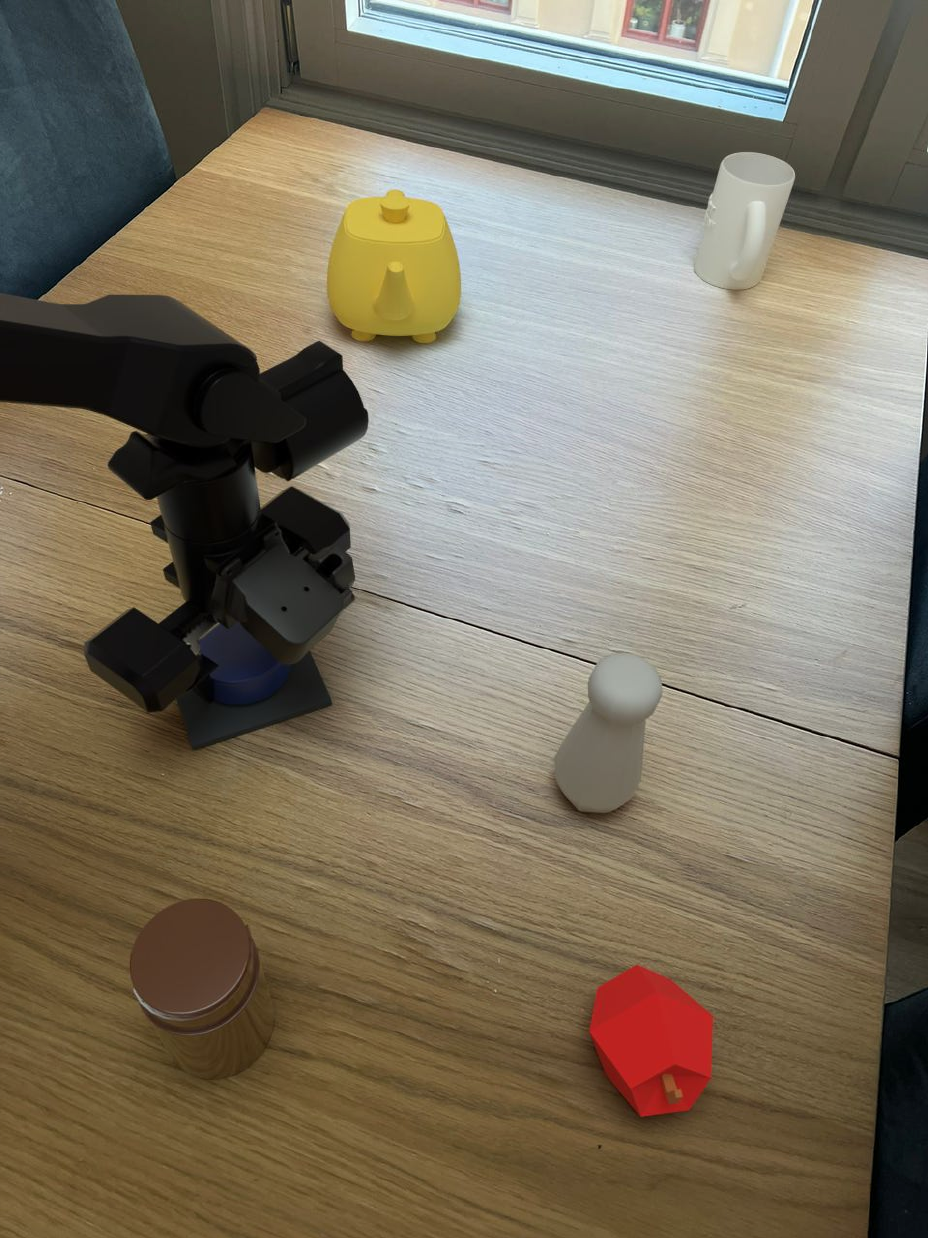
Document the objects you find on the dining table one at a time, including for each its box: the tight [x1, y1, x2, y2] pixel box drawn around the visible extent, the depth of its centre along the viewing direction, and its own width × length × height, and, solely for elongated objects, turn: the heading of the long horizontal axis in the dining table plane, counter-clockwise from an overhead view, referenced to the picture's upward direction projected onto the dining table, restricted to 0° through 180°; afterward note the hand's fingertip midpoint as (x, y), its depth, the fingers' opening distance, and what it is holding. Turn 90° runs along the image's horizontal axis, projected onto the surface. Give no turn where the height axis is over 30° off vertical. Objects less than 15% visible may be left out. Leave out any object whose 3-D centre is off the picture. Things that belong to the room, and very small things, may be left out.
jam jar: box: [129, 897, 275, 1080], centre depth 48 cm, size 6×6×10 cm
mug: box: [693, 151, 796, 291], centre depth 103 cm, size 8×12×12 cm
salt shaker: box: [553, 652, 663, 814], centre depth 59 cm, size 6×6×13 cm
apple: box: [588, 964, 714, 1118], centre depth 50 cm, size 7×7×8 cm
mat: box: [176, 650, 333, 751], centre depth 68 cm, size 10×10×1 cm
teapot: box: [326, 189, 462, 344], centre depth 93 cm, size 14×20×13 cm
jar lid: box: [199, 622, 291, 705], centre depth 66 cm, size 7×7×3 cm
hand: (242, 667), depth 67 cm, fingers closed on jar lid, 7 cm apart
